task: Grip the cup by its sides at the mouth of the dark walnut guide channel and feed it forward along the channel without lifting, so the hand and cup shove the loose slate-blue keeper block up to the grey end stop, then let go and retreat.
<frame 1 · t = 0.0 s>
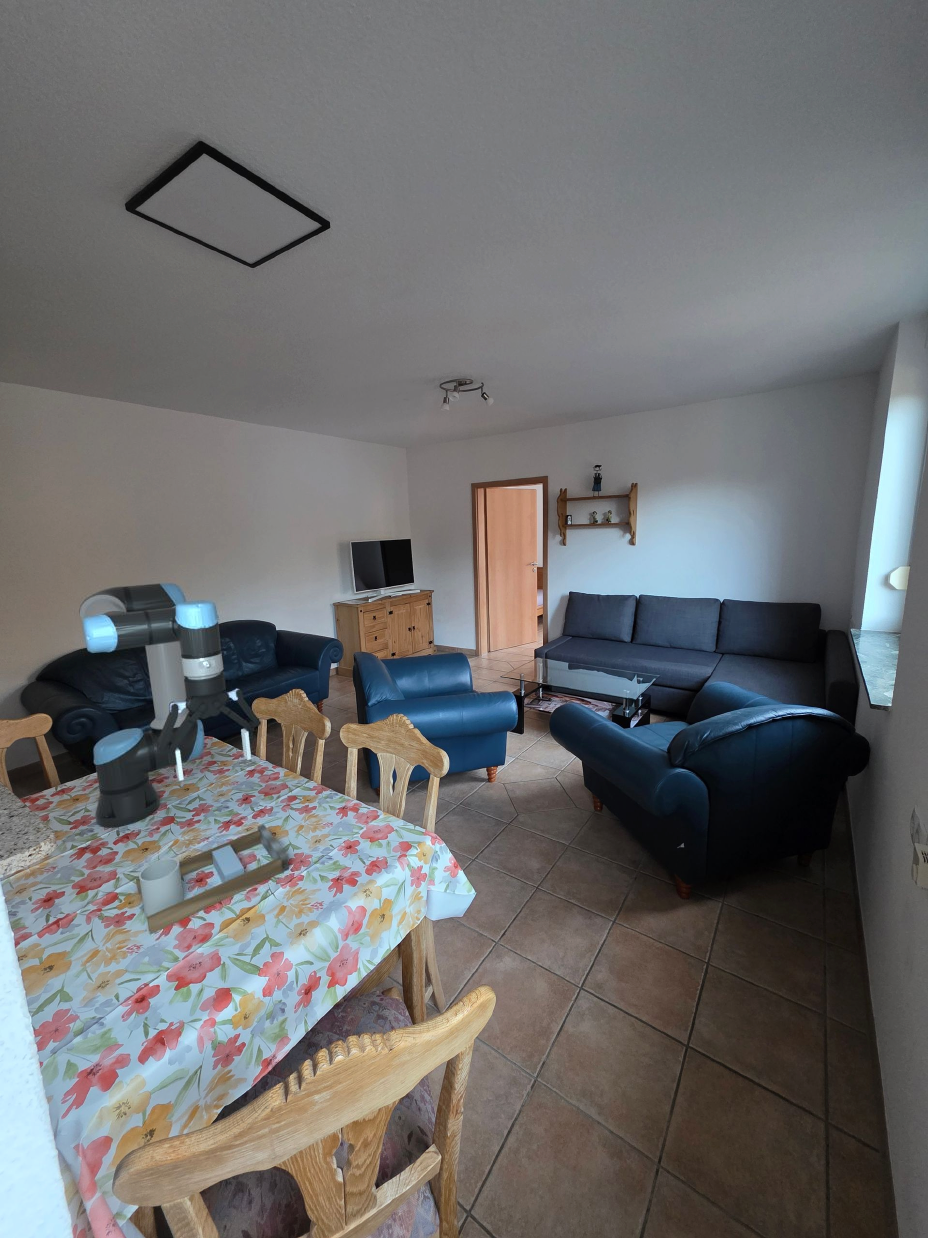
hand: (215, 767, 106), 28 cm above the table, fingers open, 13 cm apart
cup: (165, 903, 105), on the table
keeper: (229, 875, 114), on the table
channel: (215, 880, 112), on the table
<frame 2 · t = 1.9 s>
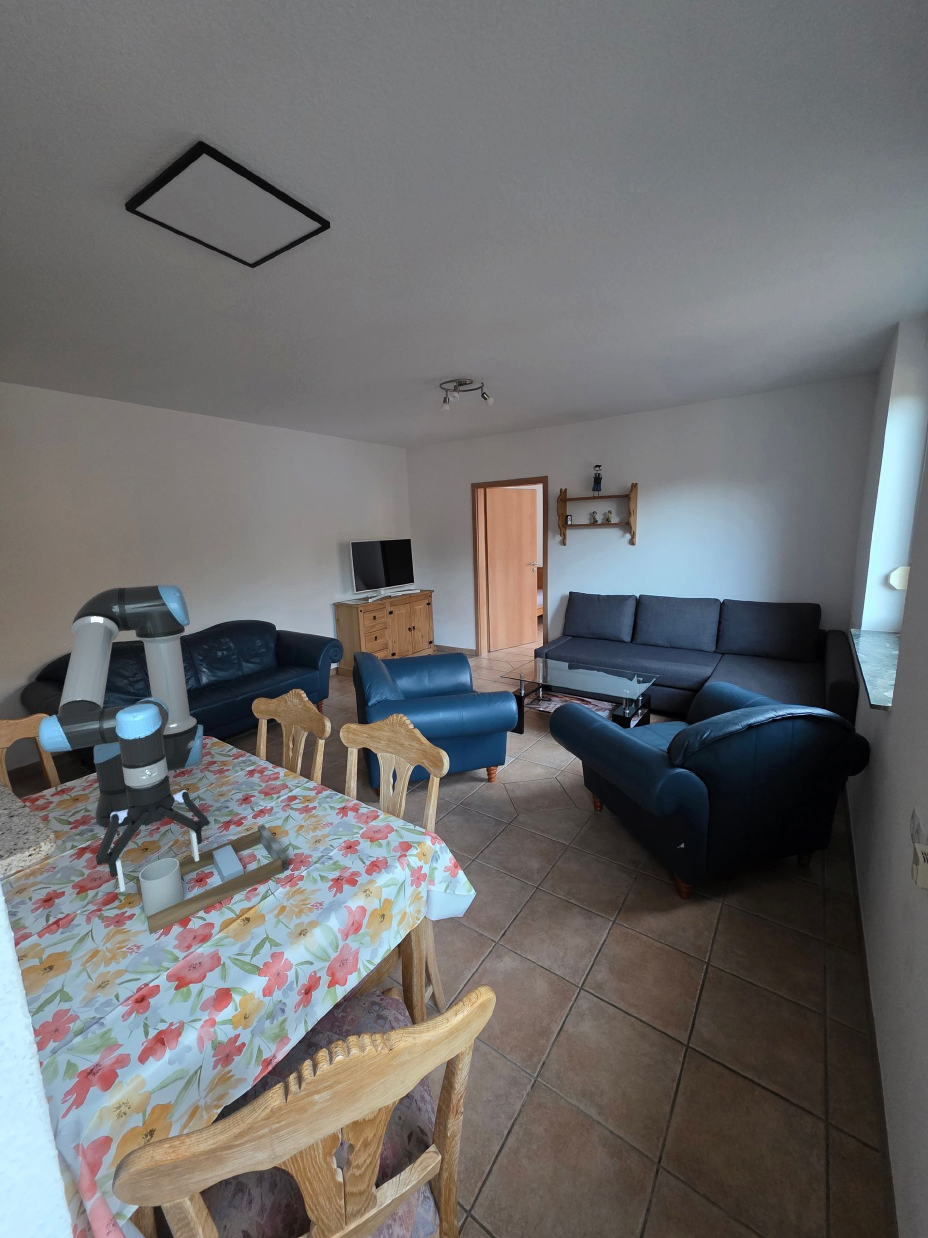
hand: (160, 872, 104), 7 cm above the table, fingers open, 13 cm apart
nothing on the table moved.
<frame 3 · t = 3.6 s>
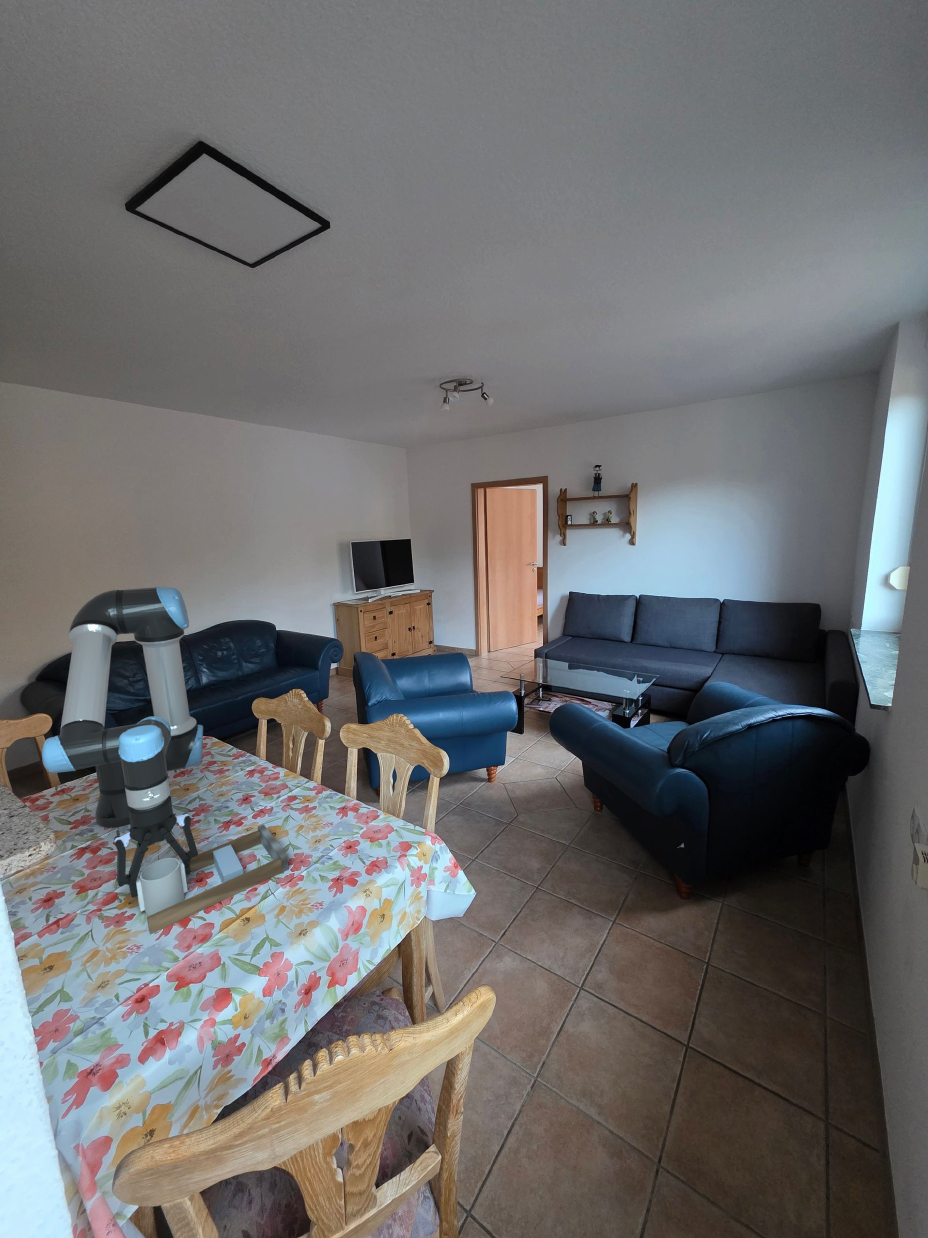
hand: (163, 897, 105), 1 cm above the table, fingers closed on cup, 7 cm apart
cup: (165, 902, 105), on the table, touching gripper
everything else where it was.
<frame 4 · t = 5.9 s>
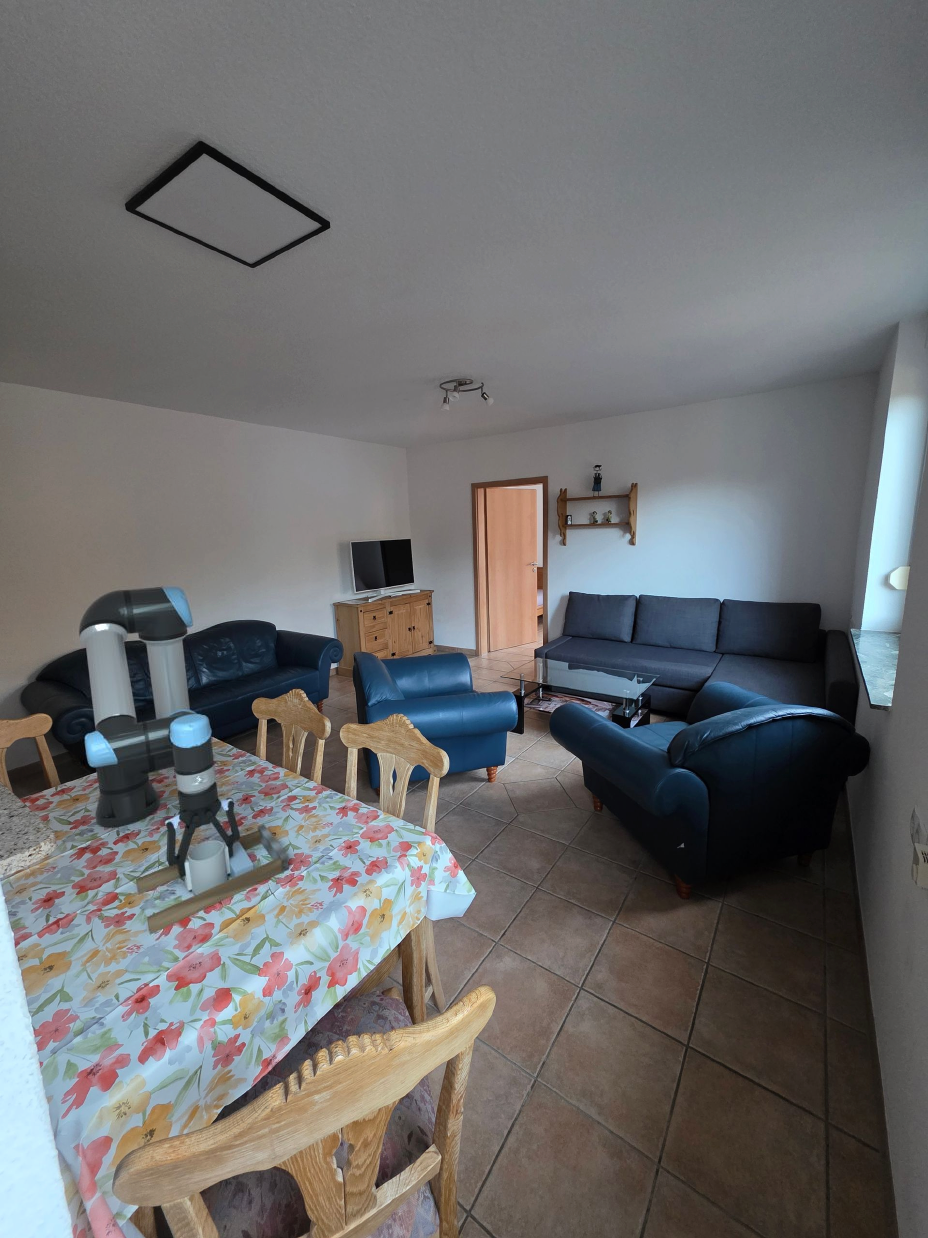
hand: (208, 878, 111), 1 cm above the table, fingers closed on cup, 7 cm apart
cup: (210, 883, 111), on the table, touching gripper
keeper: (238, 871, 115), on the table, touching gripper
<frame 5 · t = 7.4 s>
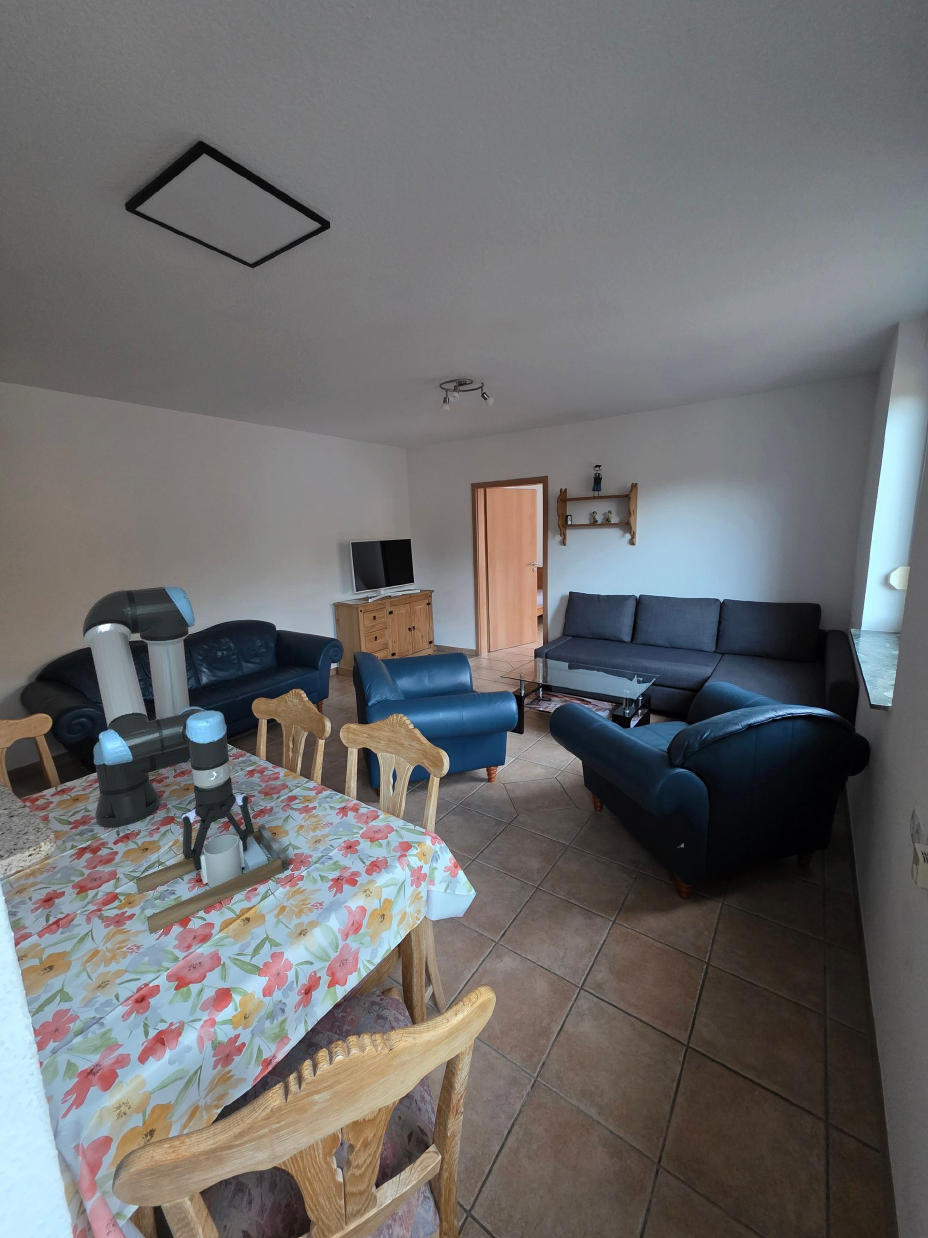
hand: (223, 871, 113), 1 cm above the table, fingers closed on cup, 7 cm apart
cup: (224, 876, 113), on the table, touching gripper
keeper: (252, 865, 117), on the table, touching gripper
when the fingers open (2 cm above the table, at t = 8.0 s): cup stays where it is, on the table.
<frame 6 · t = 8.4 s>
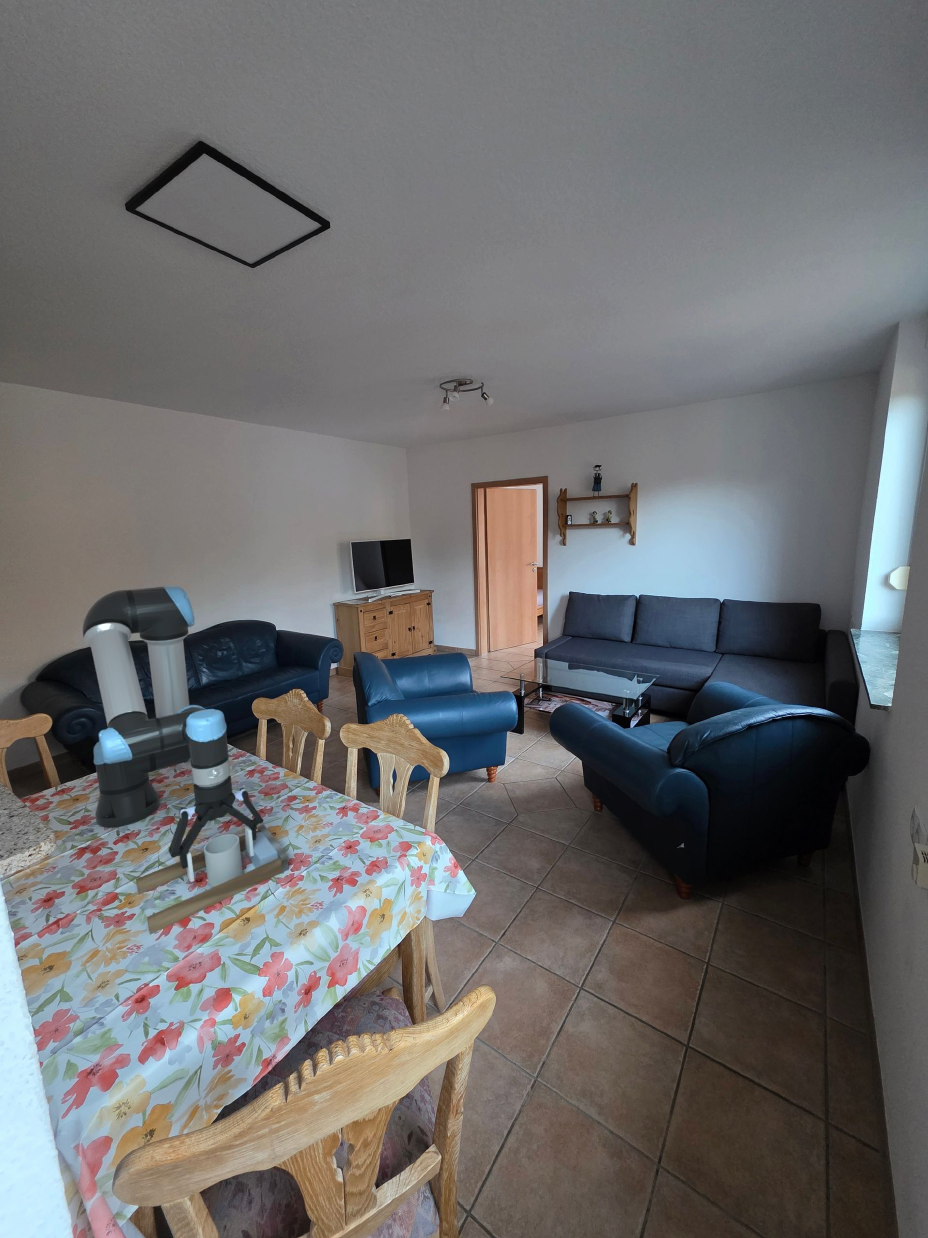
hand: (221, 865, 112), 3 cm above the table, fingers open, 12 cm apart
cup: (225, 875, 113), on the table
keeper: (261, 860, 118), on the table, touching channel, gripper
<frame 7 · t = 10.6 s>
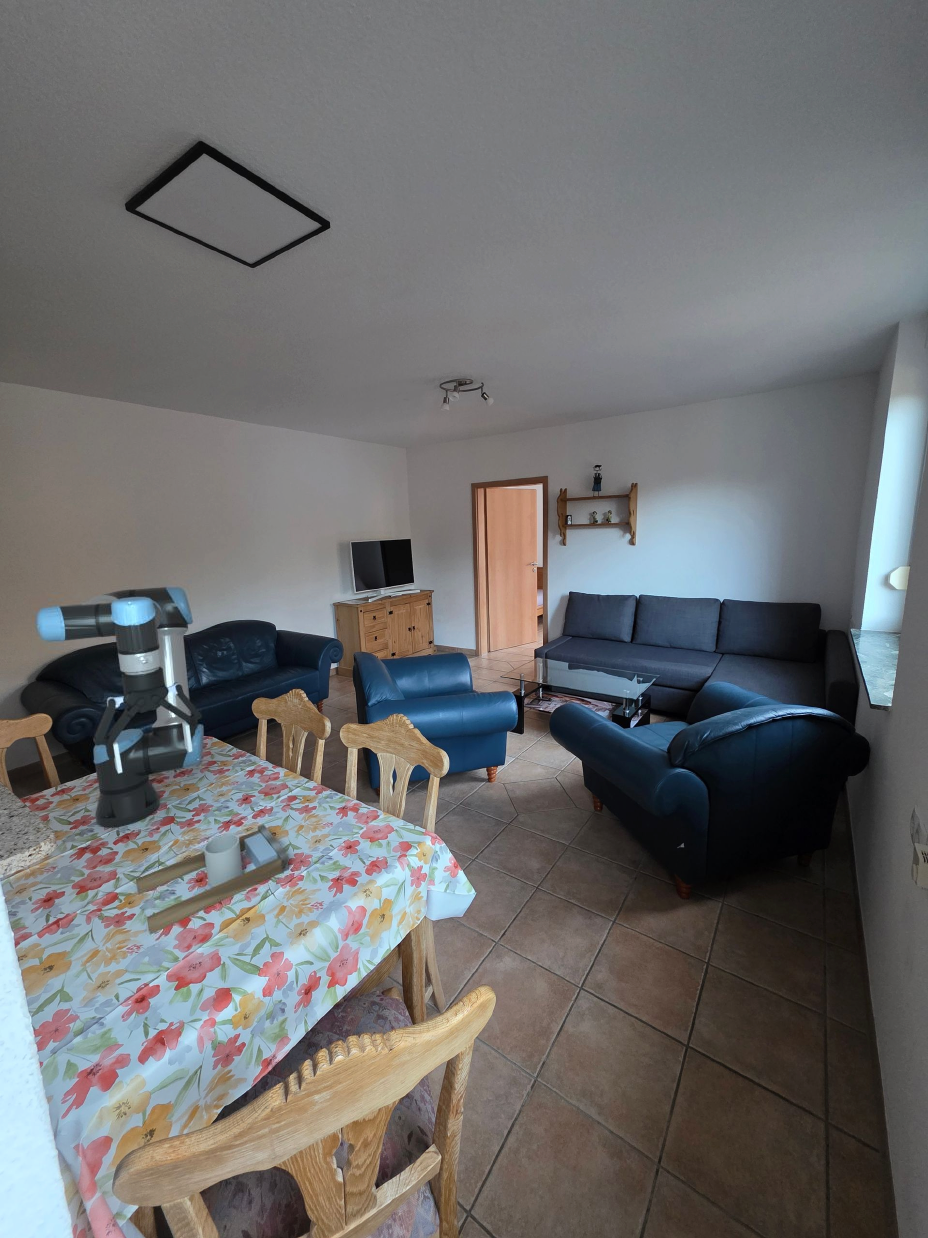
hand: (155, 759, 109), 29 cm above the table, fingers open, 13 cm apart
keeper: (252, 857, 117), point 2 cm above the table, tilted 90°
everything else where it was.
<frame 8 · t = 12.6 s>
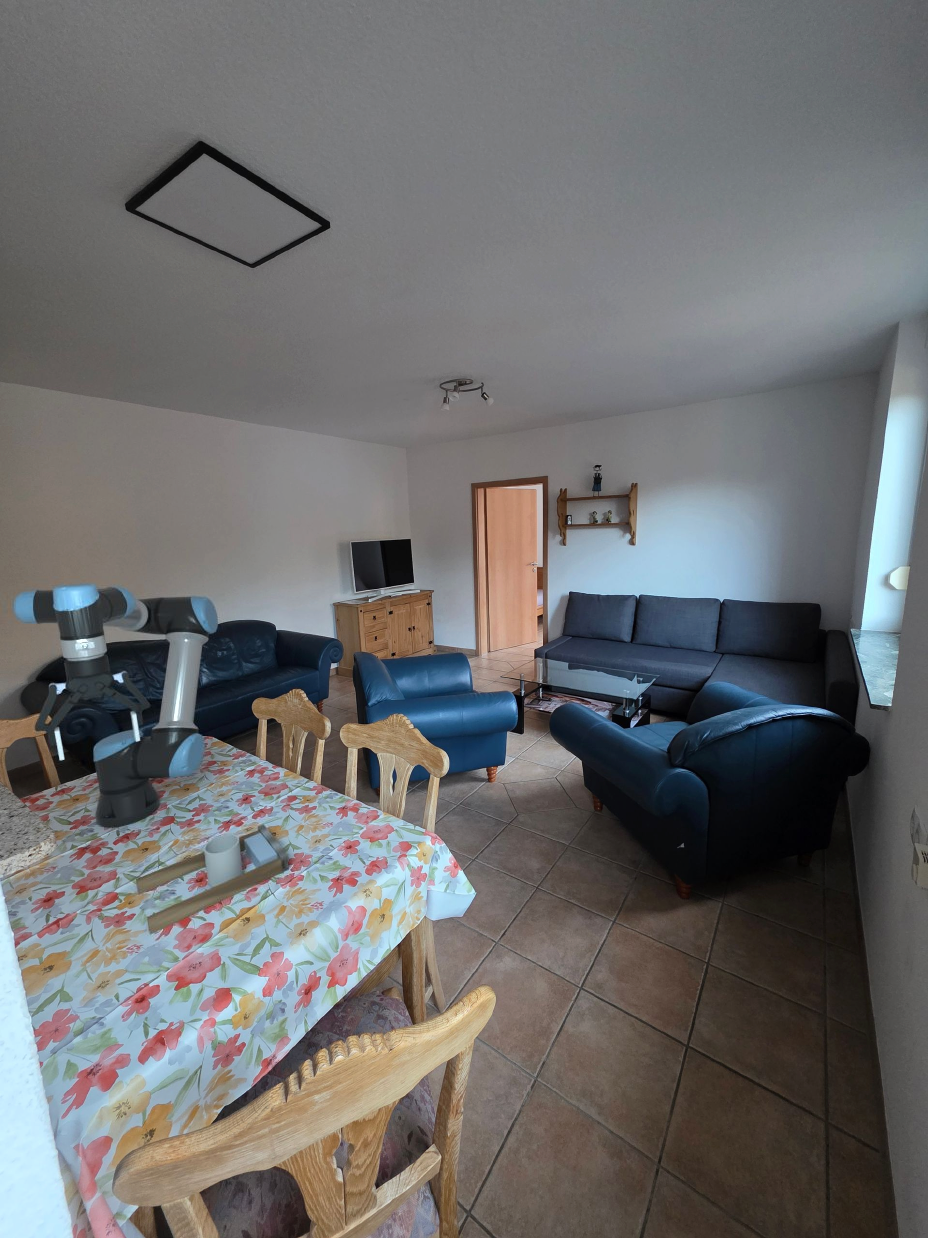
hand: (101, 748, 108), 32 cm above the table, fingers open, 13 cm apart
nothing on the table moved.
at the end: keeper inside the target area (1.7 cm from its centre), point 1.7 cm above the table; cup inside the target area (0.4 cm from its centre), on the table; the gripper is holding nothing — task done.
